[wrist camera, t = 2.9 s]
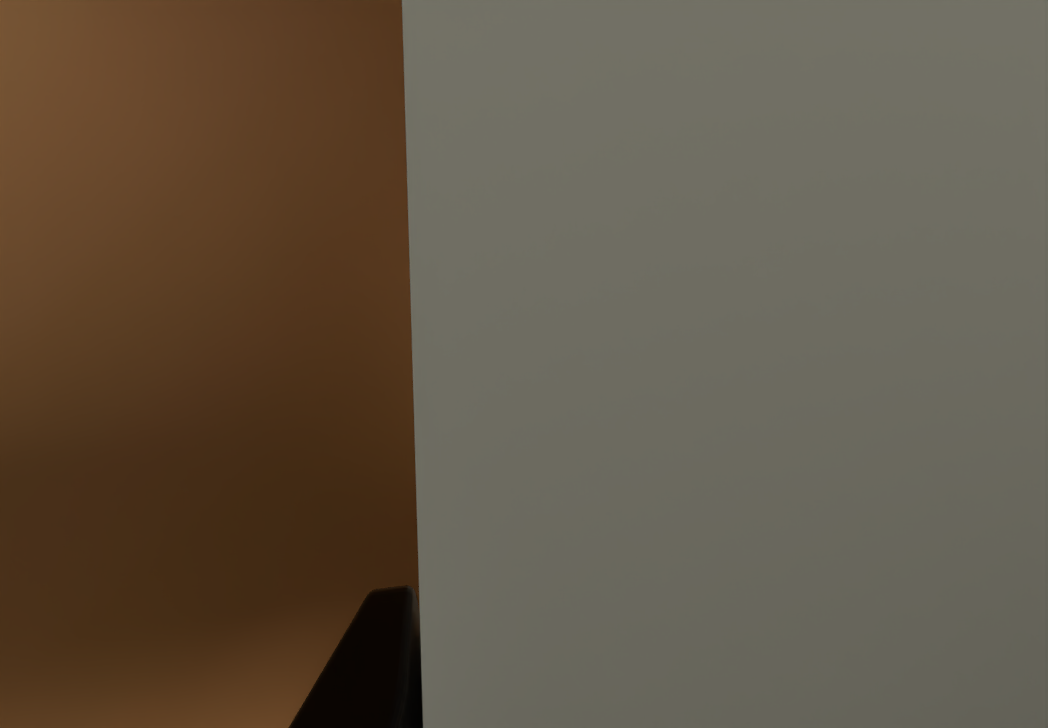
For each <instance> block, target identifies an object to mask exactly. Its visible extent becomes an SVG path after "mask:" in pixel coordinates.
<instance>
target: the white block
mask: <svg viewBox="0 0 1048 728" xmlns="http://www.w3.org/2000/svg"><path fill="white" fill-rule="evenodd" d="M402 19H403V53H404V87H405V122H406V156H407V190H408V225H409V259H410V294H411V328H412V362H413V397H414V431H415V466H416V500H417V534H418V569H419V603H420V637H421V672H422V706H423V728H1048V0H402Z"/></svg>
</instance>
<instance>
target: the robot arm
mask: <svg viewBox="0 0 1048 728" xmlns="http://www.w3.org/2000/svg"><path fill="white" fill-rule="evenodd" d="M289 728H423V706H422V672H421V637H420V613H419V608H418V603H417V598H416V593H415V590H414V589H413V588H412V587H410V586H407V585H405V586H397V587H388V588H380V589H374V590H372V591H371V592H370V593H369V594H368V595H367V596H366V598H365V600H364V601H363V603H362V605H361V606H360V608H359V610H358V612H357V613H356V615H355V617H354V618H353V620H352V622H351V623H350V625H349V627H348V628H347V630H346V632H345V633H344V635H343V637H342V639H341V640H340V642H339V644H338V645H337V647H336V649H335V650H334V652H333V654H332V655H331V657H330V659H329V661H328V662H327V664H326V666H325V667H324V669H323V671H322V672H321V674H320V676H319V677H318V679H317V681H316V683H315V684H314V686H313V688H312V689H311V691H310V693H309V694H308V696H307V698H306V699H305V701H304V703H303V705H302V706H301V708H300V710H299V711H298V713H297V715H296V716H295V718H294V720H293V721H292V723H291V725H290V726H289Z"/></svg>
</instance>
